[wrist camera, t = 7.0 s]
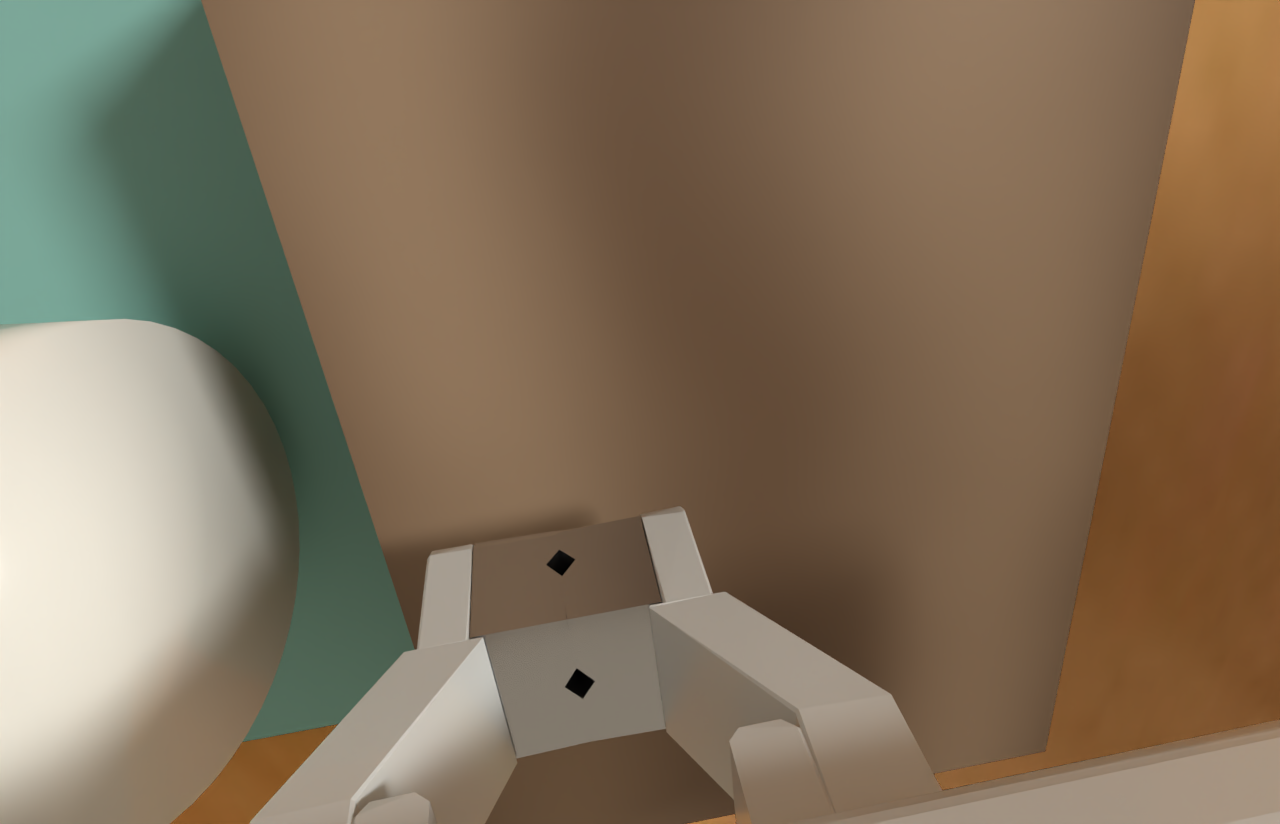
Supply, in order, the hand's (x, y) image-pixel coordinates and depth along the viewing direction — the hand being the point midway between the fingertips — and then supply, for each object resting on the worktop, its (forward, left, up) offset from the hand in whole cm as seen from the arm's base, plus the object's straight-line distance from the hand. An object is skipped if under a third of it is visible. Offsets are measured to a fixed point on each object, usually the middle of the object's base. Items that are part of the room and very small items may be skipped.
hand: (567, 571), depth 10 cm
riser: (-3, 0, -5) cm, 6 cm away
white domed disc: (+5, 0, -1) cm, 5 cm away
